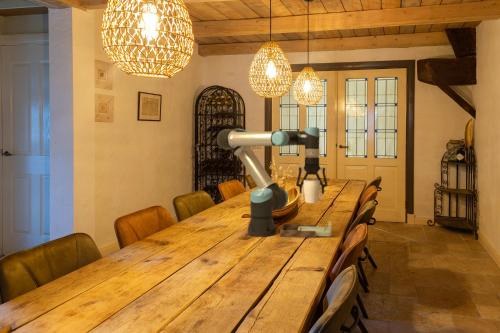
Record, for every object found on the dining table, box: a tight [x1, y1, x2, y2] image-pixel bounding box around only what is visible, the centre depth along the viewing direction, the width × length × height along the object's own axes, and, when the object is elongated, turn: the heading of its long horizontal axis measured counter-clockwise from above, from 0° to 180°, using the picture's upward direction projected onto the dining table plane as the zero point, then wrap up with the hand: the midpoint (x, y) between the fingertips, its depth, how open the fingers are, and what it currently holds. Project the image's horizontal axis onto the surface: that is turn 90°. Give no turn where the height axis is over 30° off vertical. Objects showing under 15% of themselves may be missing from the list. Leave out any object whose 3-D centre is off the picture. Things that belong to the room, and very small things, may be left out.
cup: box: [302, 178, 321, 204], centre depth 235 cm, size 9×9×12 cm
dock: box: [279, 223, 317, 239], centre depth 238 cm, size 18×16×3 cm
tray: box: [298, 219, 332, 237], centre depth 237 cm, size 17×13×6 cm
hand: (311, 199), depth 236 cm, fingers closed on cup, 9 cm apart
